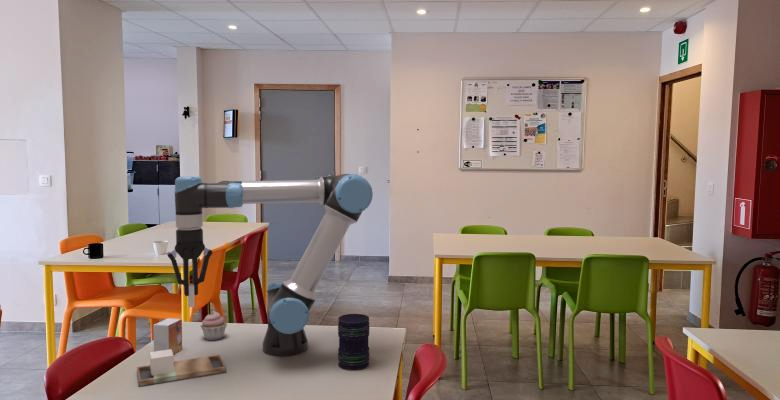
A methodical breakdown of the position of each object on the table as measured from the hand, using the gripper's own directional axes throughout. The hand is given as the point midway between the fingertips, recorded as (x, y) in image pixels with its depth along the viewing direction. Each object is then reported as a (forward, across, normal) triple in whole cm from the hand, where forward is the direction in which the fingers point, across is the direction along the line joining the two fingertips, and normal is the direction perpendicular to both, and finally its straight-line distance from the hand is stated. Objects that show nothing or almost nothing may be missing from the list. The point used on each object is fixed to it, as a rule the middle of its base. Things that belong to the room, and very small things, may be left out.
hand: (191, 306), depth 165 cm
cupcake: (+20, -11, -29) cm, 37 cm away
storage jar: (+21, -46, +17) cm, 53 cm away
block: (+18, +9, 0) cm, 20 cm away
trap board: (+20, +3, 0) cm, 20 cm away
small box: (+20, +5, -20) cm, 29 cm away
